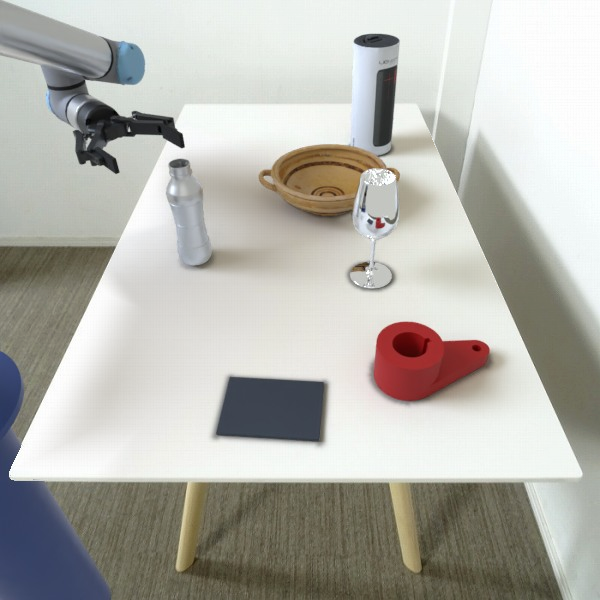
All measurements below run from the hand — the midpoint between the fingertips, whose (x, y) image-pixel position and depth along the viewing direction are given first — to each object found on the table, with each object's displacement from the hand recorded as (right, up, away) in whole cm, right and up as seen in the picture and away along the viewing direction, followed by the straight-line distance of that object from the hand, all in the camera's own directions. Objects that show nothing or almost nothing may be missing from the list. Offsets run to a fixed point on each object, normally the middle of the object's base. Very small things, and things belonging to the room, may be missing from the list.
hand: (150, 153), depth 98 cm
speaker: (+44, +12, +41) cm, 61 cm away
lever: (+47, -37, -16) cm, 61 cm away
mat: (+23, -42, -21) cm, 52 cm away
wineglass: (+40, -22, +2) cm, 45 cm away
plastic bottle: (+7, -19, +7) cm, 21 cm away
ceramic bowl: (+33, -5, +21) cm, 40 cm away
